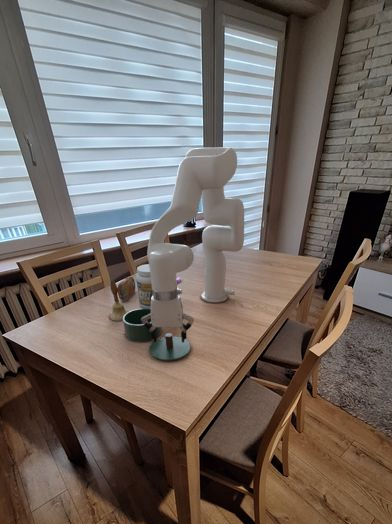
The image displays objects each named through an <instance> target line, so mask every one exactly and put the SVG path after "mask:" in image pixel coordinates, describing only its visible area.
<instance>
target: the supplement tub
mask: <svg viewBox="0 0 392 524" xmlns="http://www.w3.org/2000/svg"><path fill="white" fill-rule="evenodd" d="M135 283H136V289H137V294H138V295H137V296H138V302H139V305H140V307H142V308H146V309H151V297H152V296H153V292H152V284H151V275H150V267H149V263H147V264H142V265H139V266H137V268H136V276H135Z"/></svg>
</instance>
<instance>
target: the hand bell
mask: <svg viewBox="0 0 392 524" xmlns="http://www.w3.org/2000/svg"><path fill="white" fill-rule="evenodd" d="M109 283H110V284H109V287H110V291H111V294H112V295H113V299H114V300H113V301H114V303H113V304H112V311H111V314H110V315H109V319H110V320H112V321H115V322H121V321H123V316H124V315H125V314H126V313H128V312H129V311H127V309H126V308H125V305H124V303H123V302H120V298H119V296H118V290H117V288H118V285H117V284H116V282H115V280H114V279H110V282H109Z"/></svg>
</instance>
